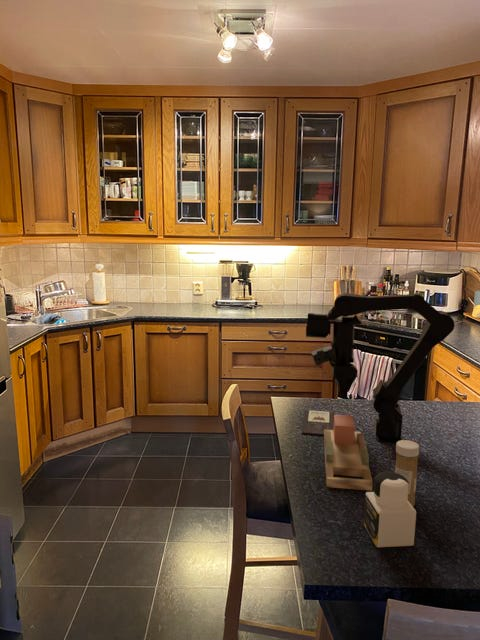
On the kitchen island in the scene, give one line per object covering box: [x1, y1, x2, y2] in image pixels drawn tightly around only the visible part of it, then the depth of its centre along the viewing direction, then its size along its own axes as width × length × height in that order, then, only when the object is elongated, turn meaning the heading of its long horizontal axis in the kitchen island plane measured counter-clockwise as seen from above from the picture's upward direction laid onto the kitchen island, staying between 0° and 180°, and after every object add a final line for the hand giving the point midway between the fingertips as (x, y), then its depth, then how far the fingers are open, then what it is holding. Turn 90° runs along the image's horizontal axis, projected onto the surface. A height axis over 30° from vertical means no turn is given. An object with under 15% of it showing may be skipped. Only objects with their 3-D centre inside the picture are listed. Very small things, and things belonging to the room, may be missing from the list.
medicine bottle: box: [363, 471, 417, 548], centre depth 89 cm, size 7×7×12 cm
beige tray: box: [323, 429, 374, 492], centre depth 120 cm, size 10×28×4 cm, turn 171°
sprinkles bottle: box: [394, 439, 420, 507], centre depth 100 cm, size 5×5×14 cm
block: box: [333, 413, 356, 445], centre depth 129 cm, size 5×8×5 cm, turn 171°
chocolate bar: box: [301, 409, 335, 437], centre depth 144 cm, size 9×1×18 cm
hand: (341, 392), depth 135 cm, fingers open, 9 cm apart
